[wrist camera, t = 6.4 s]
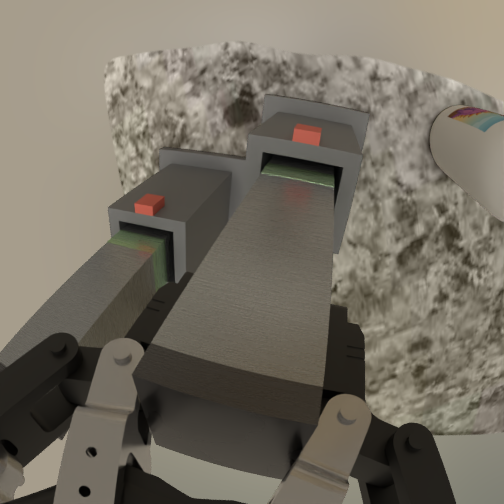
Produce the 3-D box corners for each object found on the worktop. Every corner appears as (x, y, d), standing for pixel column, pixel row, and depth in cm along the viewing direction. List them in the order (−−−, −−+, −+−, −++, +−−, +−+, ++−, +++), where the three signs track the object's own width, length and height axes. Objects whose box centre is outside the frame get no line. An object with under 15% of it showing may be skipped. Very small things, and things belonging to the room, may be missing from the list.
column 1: (195, 205, 29) (32, 405, 11) (195, 243, 31) (62, 440, 13) (156, 198, 30) (-16, 370, 12) (158, 235, 32) (14, 409, 14)
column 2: (334, 151, 24) (319, 425, 6) (324, 198, 26) (283, 479, 8) (282, 141, 24) (130, 373, 6) (276, 188, 26) (155, 444, 8)
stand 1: (249, 158, 33) (205, 207, 22) (241, 240, 38) (203, 313, 28) (163, 146, 34) (91, 188, 24) (164, 224, 40) (107, 285, 29)
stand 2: (368, 113, 28) (392, 138, 17) (348, 204, 33) (353, 276, 22) (266, 94, 29) (226, 107, 18) (256, 186, 34) (217, 247, 24)
